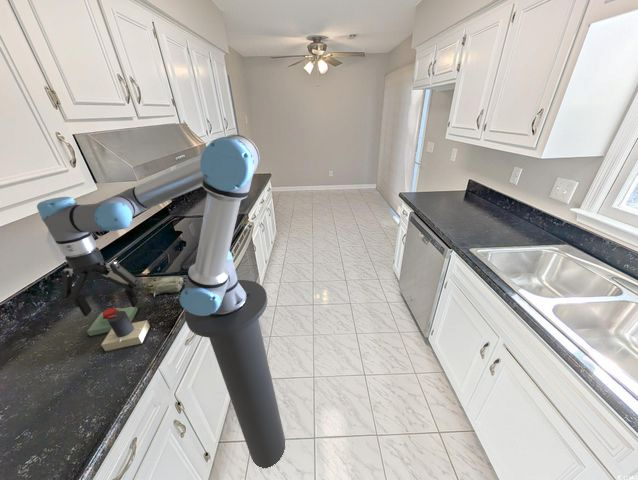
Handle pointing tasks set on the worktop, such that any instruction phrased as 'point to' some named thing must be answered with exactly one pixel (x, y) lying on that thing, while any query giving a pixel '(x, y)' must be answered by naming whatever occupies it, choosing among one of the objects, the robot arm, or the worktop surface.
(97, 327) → the switch base
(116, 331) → the dial
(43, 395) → the worktop surface
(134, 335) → the dial panel
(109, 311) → the switch button
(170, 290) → the mushroom
